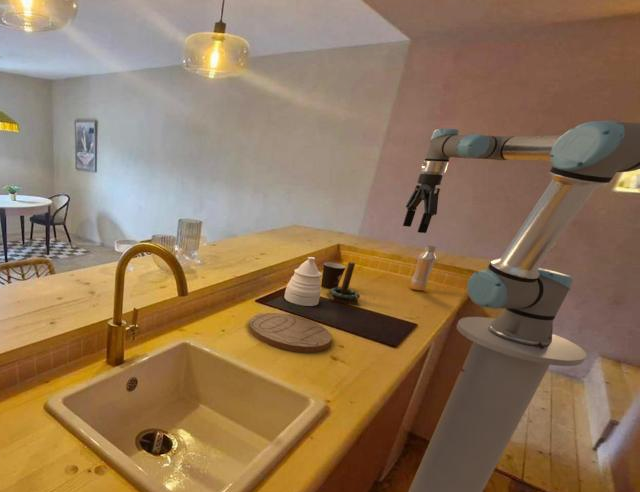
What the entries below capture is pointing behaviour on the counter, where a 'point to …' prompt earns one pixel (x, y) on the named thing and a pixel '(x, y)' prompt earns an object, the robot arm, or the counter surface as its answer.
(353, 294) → the ring
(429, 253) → the plastic bottle
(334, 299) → the post
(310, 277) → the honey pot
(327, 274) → the coffee mug
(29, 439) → the counter surface
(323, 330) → the trivet
